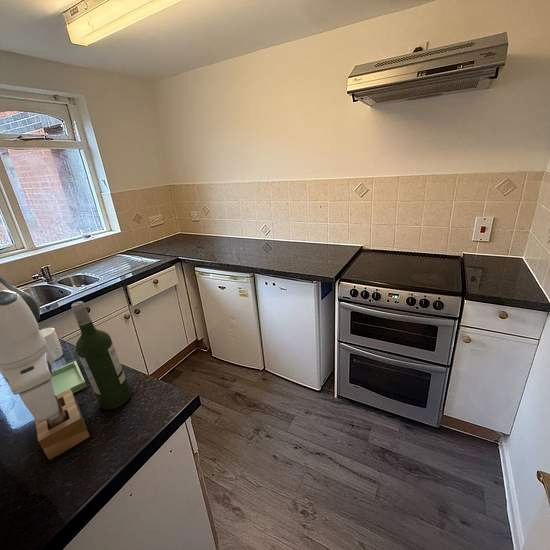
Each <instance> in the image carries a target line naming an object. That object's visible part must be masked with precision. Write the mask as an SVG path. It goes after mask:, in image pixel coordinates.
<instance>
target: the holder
mask: <svg viewBox="0 0 550 550" xmlns="http://www.w3.org/2000/svg"><path fill="white" fill-rule="evenodd" d="M56 396H57V398H58V400H59V402H60V404H61V406H62V408H63V410H64V412H65V414H66V416H67V418H68V420H67V421H65V422H63V423H61V424H59V425H57V426H55V427H54V428H51V427H50V425H49V423H48V421H47V420H45V421H43V422H39V421H37V420H36V419H35V418H34V423H35V429H36V435H37V442H38V443H39V445H40V447H41V449H42V450H43V452H44V454H45V456H46V458H47V459H48V461H51V460H53V459H55V458H56V457H58V456H60V455H61V454H63V453H64V452H67V451H68V450H70V449H71V448H73V447H75V446H76V445H78V444H80V443H82V442H83V441H86V440H87V439H89V438H90V437H91V435H90V432H89V430H88V427H87V425H86V423H85V419H84V417H83V414H82V411H81V409H80V405H79V404H78V402H77V399H76V397H75V396H74V393H72V391H71V389H69V390H67V391H65V392H63V393H61V394H58V395H56Z"/></svg>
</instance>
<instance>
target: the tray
mask: <svg viewBox="0 0 550 550" xmlns="http://www.w3.org/2000/svg"><path fill="white" fill-rule="evenodd" d="M51 382H52V386H53V390H54V394H55V395H58V394H61V393H63V392H65V391H67V390H69V389H71V391H72V393H73V394H75V393H77V392H79V391H82V390H83V389H85V388H88V384H87V383H86V380H85V378H84V376H83V374H82V372H81V369H80V366H79V365H78V363H77V360H74V361H72V362H70V363H67V364H64V365H63V366H61V367H59V368H56V369H53V370H52V379H51Z"/></svg>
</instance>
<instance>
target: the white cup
mask: <svg viewBox="0 0 550 550" xmlns="http://www.w3.org/2000/svg"><path fill="white" fill-rule="evenodd" d="M39 332H40V334H41V336H42V337H43V338H44V339H45V340H46V342H47V344H48V346H49V348H50V350H51V352H52V354H53V356H54V358H55V360H54V361H56V360H58V359H60V358H61V357H62V356H63V355H64V352H63V351H64V350H63V349H62V344H61V342H60V340H59V336H58V334H57V331H56V330H55V328H54V327H46V328H42V329H39Z"/></svg>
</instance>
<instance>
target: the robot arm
mask: <svg viewBox="0 0 550 550" xmlns="http://www.w3.org/2000/svg"><path fill="white" fill-rule="evenodd" d="M40 317H41V306H40V304H39V301H38V300H37V299H36V298H35V297H34V296H32V295H31V294H29V293H28V292H26V291H24V290H22V289H20V288H18V287H17V286H14V285H12V284H11V283H9V282H8V281H7V280H6V279H4V278H2V277H1V276H0V374H1V375H2V378H3V379H4V381H5V382H6V383H7V384H8V387H9V389H10V391H11V393H12V394H13V395H14V396H16V395H18V396H19V398H20V400H21V401H22V403H23V404H24V406H25V407H26V409H27V410H28V411H29V413H30V414H31V415H32V417H33V418H34V420H35V419H36V420H37V421H39V422H43V421H45V420H47V419H49V420H53V419H55V418H57V417H58V416H59V414H58V413H59V407H58V404H57V400H56V397H55V394H54V390H53V386H52V382H51V379H52V371H53V366H54V363H55V361H56V360H55V358H54V356H53V354H52V352H51V350H50V348H49V346H48V344H47V342H46V340H45V339H44V338H43V337H42V336H41V334H40V332H39V330H40V327H39V321H40Z"/></svg>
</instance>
